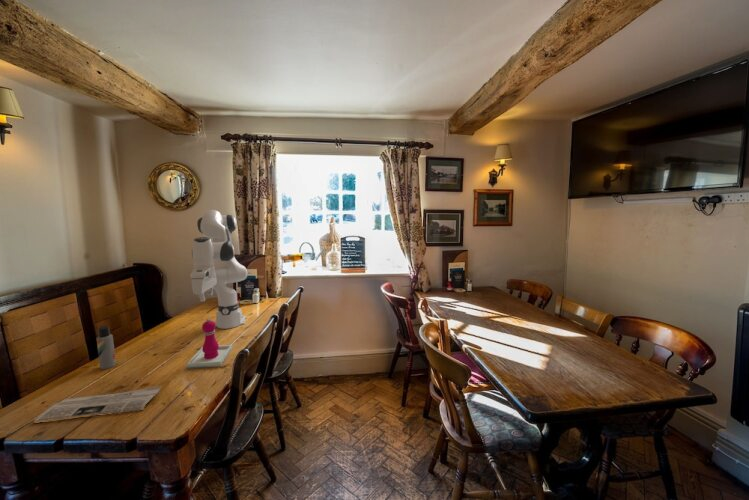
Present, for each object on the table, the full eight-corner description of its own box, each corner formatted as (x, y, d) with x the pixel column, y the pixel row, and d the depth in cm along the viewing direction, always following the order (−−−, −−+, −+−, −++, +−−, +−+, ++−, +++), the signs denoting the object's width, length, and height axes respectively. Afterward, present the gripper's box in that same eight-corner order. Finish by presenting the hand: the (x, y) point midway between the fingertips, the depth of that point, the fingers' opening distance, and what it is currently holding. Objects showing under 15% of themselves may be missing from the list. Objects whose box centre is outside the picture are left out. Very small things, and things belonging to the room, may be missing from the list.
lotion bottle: (115, 362, 145) (110, 323, 142) (116, 366, 141) (111, 326, 138) (100, 366, 141) (94, 326, 138) (100, 370, 137) (95, 330, 134)
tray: (202, 351, 156) (202, 346, 156) (232, 349, 158) (232, 344, 158) (187, 369, 138) (186, 364, 138) (220, 366, 141) (220, 361, 141)
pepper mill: (212, 360, 145) (209, 321, 142) (199, 358, 146) (196, 320, 143) (222, 353, 152) (219, 316, 149) (210, 352, 153) (207, 315, 150)
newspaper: (33, 425, 102) (32, 416, 102) (62, 403, 115) (61, 394, 114) (148, 410, 110) (147, 402, 110) (164, 391, 122) (163, 383, 122)
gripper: (206, 267, 152) (207, 292, 154) (188, 275, 132) (190, 305, 134) (219, 266, 153) (220, 292, 155) (203, 275, 133) (205, 304, 135)
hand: (206, 298), depth 144 cm, fingers open, 8 cm apart
